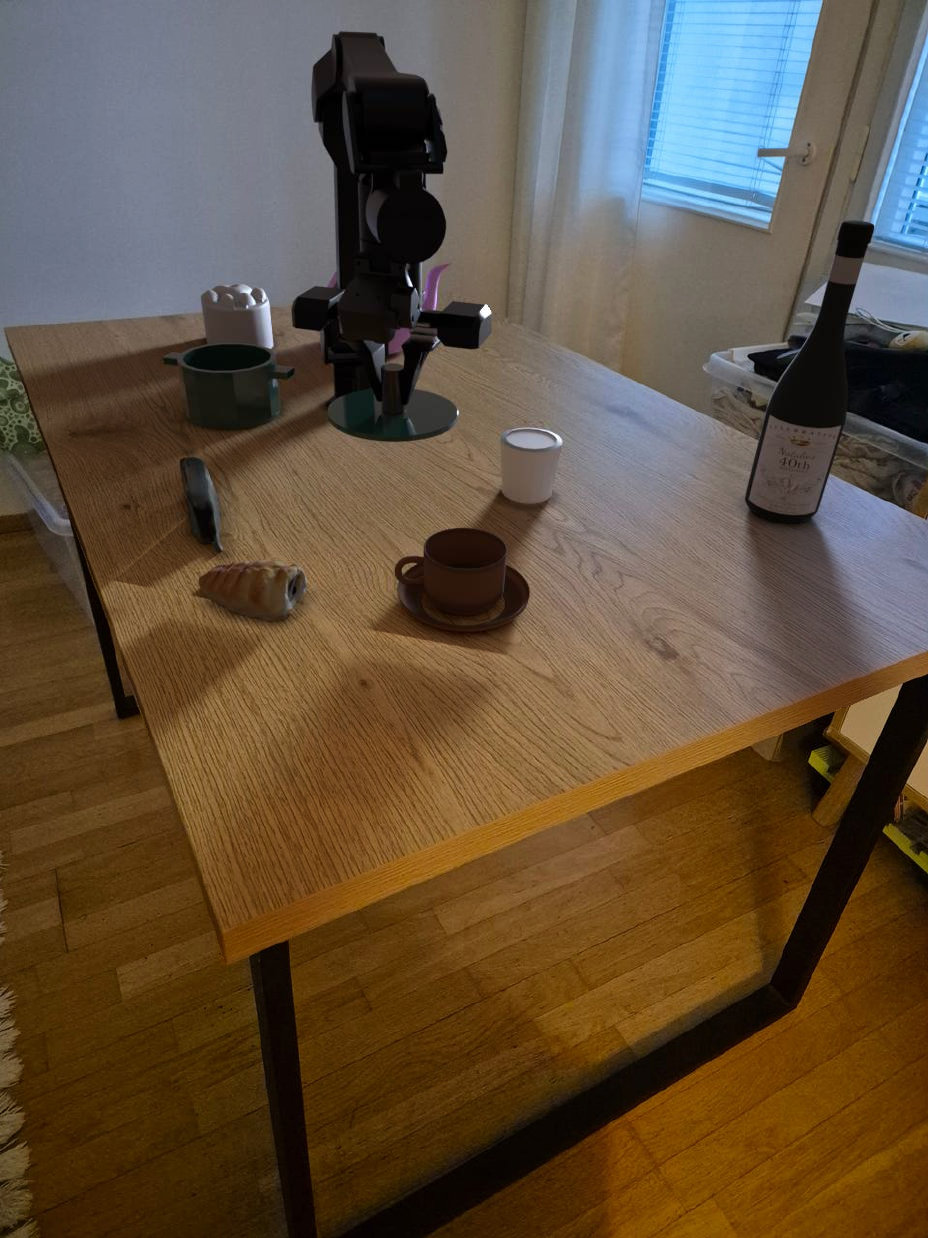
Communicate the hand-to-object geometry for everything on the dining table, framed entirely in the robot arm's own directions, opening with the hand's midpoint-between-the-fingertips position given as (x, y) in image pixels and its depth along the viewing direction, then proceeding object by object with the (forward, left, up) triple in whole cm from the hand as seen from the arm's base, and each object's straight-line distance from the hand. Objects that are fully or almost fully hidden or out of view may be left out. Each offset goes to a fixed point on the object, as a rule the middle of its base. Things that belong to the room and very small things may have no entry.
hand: (393, 402), depth 87 cm
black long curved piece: (+10, -18, -12) cm, 24 cm away
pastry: (+22, -6, -12) cm, 26 cm away
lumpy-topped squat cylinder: (-46, -43, -12) cm, 64 cm away
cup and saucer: (+17, +12, -12) cm, 24 cm away
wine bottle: (-13, +41, -12) cm, 45 cm away
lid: (0, 0, -1) cm, 1 cm away
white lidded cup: (-7, +13, -12) cm, 20 cm away
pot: (-19, -30, -12) cm, 37 cm away
